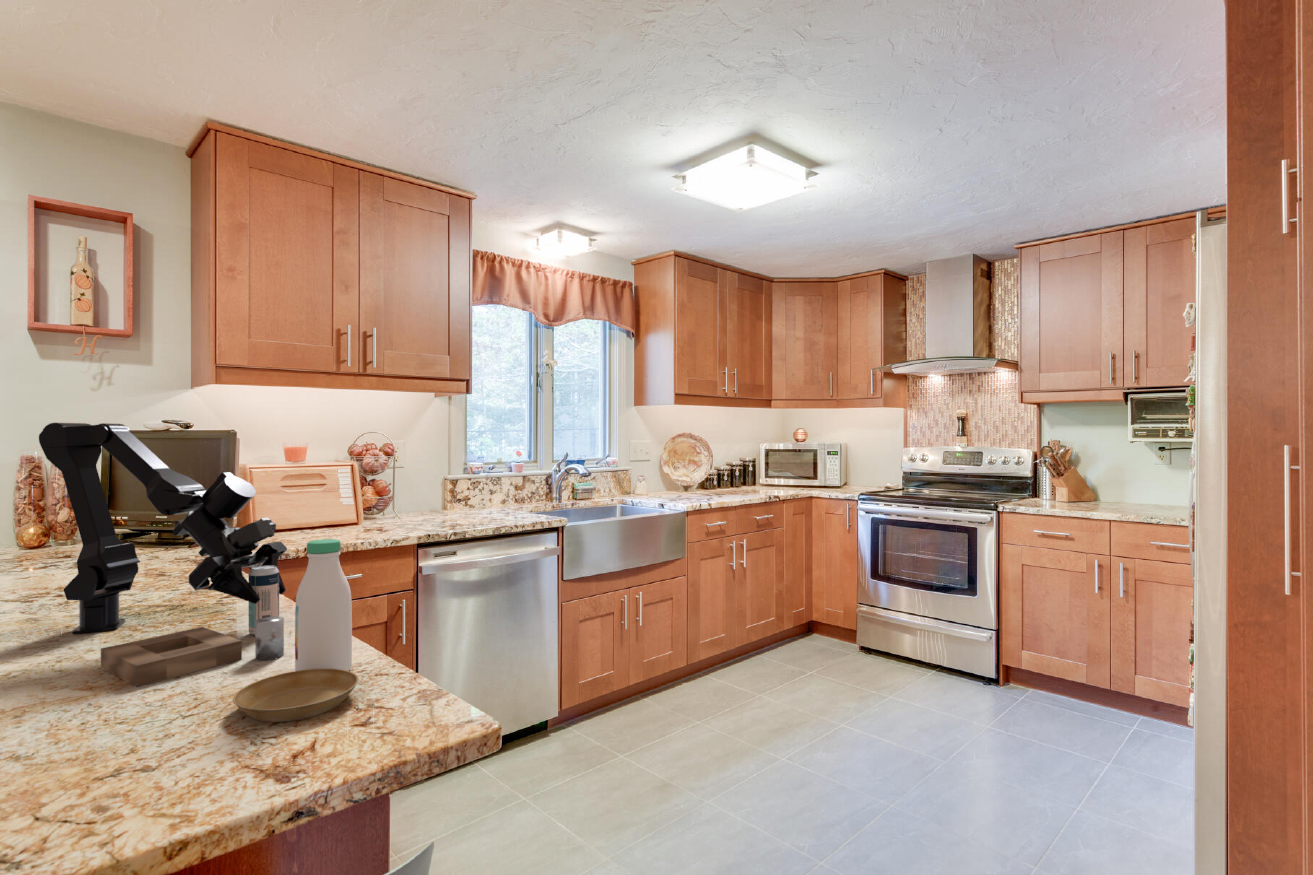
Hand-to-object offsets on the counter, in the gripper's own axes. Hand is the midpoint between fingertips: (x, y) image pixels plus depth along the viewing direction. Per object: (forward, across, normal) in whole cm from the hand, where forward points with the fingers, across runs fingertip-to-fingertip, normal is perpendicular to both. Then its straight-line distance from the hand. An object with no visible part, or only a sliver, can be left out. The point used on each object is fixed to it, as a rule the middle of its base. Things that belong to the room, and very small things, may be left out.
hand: (271, 596), depth 120 cm
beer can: (+4, 0, +6) cm, 7 cm away
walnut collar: (+2, -17, +8) cm, 19 cm away
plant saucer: (+23, -30, -13) cm, 40 cm away
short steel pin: (+11, -12, -1) cm, 16 cm away
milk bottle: (+20, -18, -10) cm, 29 cm away
